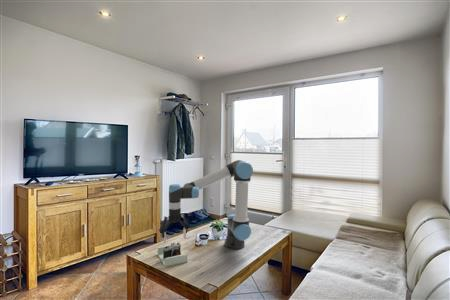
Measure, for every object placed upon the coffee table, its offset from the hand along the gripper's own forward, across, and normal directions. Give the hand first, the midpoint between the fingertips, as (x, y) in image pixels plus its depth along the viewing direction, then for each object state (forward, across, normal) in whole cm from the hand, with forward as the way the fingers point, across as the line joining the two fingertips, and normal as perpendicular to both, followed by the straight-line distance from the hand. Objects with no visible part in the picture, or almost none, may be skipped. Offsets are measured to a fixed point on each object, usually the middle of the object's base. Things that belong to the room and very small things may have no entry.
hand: (174, 240), depth 158 cm
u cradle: (+12, +2, 0) cm, 12 cm away
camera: (+11, +1, 0) cm, 11 cm away
